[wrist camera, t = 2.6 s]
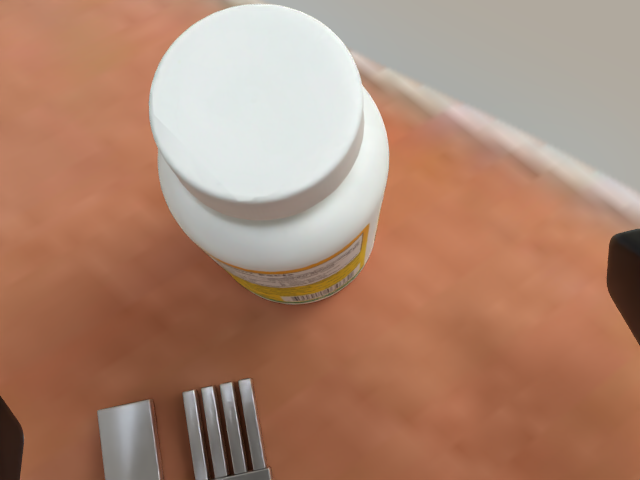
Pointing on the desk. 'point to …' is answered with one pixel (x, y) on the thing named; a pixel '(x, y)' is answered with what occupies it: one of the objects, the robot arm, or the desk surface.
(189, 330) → the desk surface
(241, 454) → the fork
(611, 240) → the robot arm
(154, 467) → the knife
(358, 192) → the supplement bottle
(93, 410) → the desk surface
